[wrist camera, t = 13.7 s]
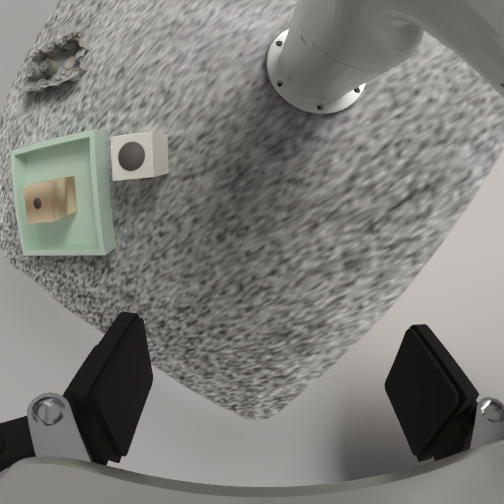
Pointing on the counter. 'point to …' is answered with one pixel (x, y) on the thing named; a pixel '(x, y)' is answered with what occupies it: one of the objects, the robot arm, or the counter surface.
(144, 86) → the counter surface
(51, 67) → the egg carton
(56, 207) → the maple block
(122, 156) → the ivory block
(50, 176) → the tray
